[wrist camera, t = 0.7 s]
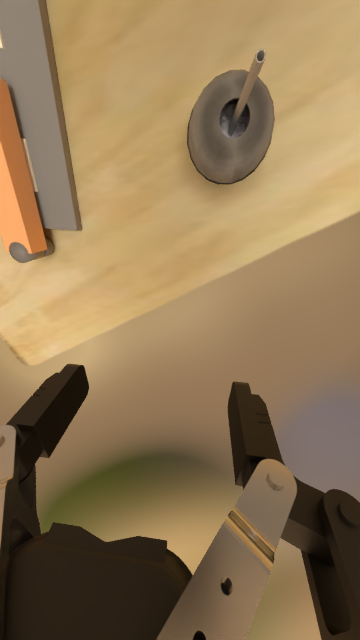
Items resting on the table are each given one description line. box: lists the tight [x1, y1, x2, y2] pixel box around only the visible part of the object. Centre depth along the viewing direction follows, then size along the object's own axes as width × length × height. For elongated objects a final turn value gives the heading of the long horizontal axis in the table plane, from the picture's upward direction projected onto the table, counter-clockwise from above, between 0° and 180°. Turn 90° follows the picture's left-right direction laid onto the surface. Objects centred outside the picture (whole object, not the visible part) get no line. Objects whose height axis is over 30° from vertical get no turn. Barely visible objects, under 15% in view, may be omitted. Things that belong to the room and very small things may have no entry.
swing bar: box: [0, 78, 47, 263], centre depth 28 cm, size 20×4×4 cm, turn 177°
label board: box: [0, 0, 82, 257], centre depth 29 cm, size 30×14×2 cm, turn 177°
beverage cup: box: [187, 49, 275, 184], centre depth 20 cm, size 7×7×20 cm
